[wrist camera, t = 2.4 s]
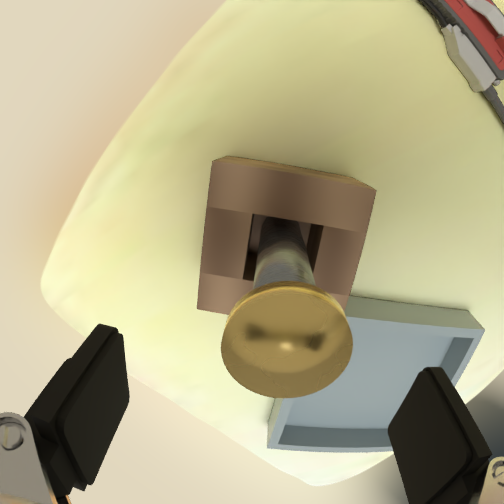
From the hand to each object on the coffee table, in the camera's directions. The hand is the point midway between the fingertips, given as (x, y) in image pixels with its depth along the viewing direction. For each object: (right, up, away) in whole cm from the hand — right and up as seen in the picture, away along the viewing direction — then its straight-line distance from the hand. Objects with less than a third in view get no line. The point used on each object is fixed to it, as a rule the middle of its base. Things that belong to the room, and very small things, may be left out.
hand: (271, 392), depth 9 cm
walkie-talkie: (+20, +23, +10) cm, 32 cm away
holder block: (+2, +6, +17) cm, 18 cm away
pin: (+2, +6, +16) cm, 17 cm away
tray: (+12, -9, +22) cm, 26 cm away
